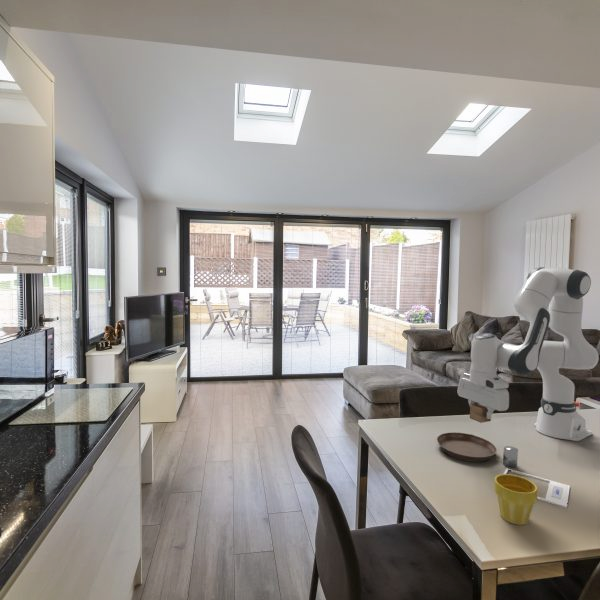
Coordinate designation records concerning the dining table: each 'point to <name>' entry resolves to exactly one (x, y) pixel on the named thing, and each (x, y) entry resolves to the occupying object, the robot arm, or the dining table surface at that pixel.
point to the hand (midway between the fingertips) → (480, 415)
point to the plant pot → (515, 497)
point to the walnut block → (478, 412)
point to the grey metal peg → (510, 457)
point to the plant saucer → (466, 446)
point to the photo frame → (552, 491)
